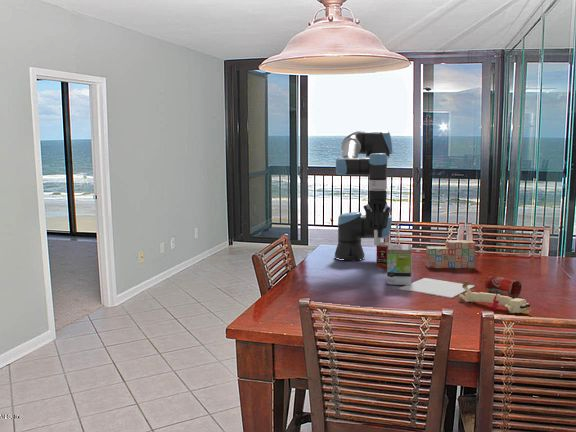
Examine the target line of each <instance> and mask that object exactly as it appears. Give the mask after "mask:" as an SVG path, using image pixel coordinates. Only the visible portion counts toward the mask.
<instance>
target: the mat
mask: <svg viewBox="0 0 576 432" xmlns="http://www.w3.org/2000/svg"><path fill="white" fill-rule="evenodd" d="M462 285H463V283H459V282H454V281H446V280H440V279H434V278H428V277H423V278H421V279H418V280H415V281H413V282H411V285H402V286H401V287H399V288H398V290H403V291H409V292H413V293H414V292H415V293H420V294H426V295H431V296H437V297H443V298H449V299H453V298H455V297H458V296H459V295H460V294H463V293H466V292H467V291H466V290H465V289H464V288H462ZM467 287H468V288H469V289H470V290H471V289H473V288H475V287H476V285H473V284H470V285H468V286H467Z"/></svg>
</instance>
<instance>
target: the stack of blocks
mask: <svg viewBox="0 0 576 432" xmlns="http://www.w3.org/2000/svg"><path fill="white" fill-rule="evenodd" d="M425 251H426V252H425V266H426V267H427V268H428V269H475V268H476V267H475V265H476V263H475V262H476V242H475V241H474V240H465V239H460V240H457V239H454V240H452V239H451V240H450V239H448V240H445V246H428V245H427V246H426V250H425Z"/></svg>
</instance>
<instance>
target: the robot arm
mask: <svg viewBox="0 0 576 432" xmlns="http://www.w3.org/2000/svg"><path fill="white" fill-rule="evenodd" d="M391 137H392V136H391V133H390V131H389V130H380V129H379V130H359V131H358V130H357V131H355V132H352V133H351V134H348V135H347V136H346V137H345V138H344V139H343V141H342V142H341V147H340V148H341V151H342V154H341V157H337V158H336V159H335V174H336V175H338V176H339V175H341V176H368V203H367V204H366V205H363V209H364V211H365V214H362V212H361V211H353V212H346V213H342V214H340V215H339V216H338V217H337V218H338V219H337V220H338V221H337V246H336V248H335V252H334V258H335V257H336V258H339V259H344V260H359V261H361V260H360V259H363V258H364V259H365V252H364V248H363V245H362V239H373V246H377V245H380V243H381V239H388V238H389V237H390V233H391V228H392V227H391V226H392V221H393V216H392V215H391V214H390V213H391V211H392V210H393V207H392V206H389V205H388V202H387V198H388V197H387V196H388V193H387V192H388V191H387V189H388V178H387V177H388V175H387V174H388V159H390V155H392V154H393V145H392V144H393V143H392V138H391ZM359 155H365V157H359ZM364 259H363V260H364Z"/></svg>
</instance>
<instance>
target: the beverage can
mask: <svg viewBox="0 0 576 432" xmlns="http://www.w3.org/2000/svg"><path fill="white" fill-rule="evenodd" d="M484 284H485V285H484V286H485V290H486V291H487V292H488V293H492V294H500V295H501V296H505V295H504V294H503V293H502V292H504V293H505V294H506V295H507V296H509V297H510V298H513V299H515V298H519V296H520V295H521V293H522V289H523V288H522V287H523V286H522V283H521V282H520V281H519V280H515V279H510V278H508V277H507V278H506V277H501V276H496V275H493V276H492V275H491V276H488V277H487V278H486V280H485V283H484Z"/></svg>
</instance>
